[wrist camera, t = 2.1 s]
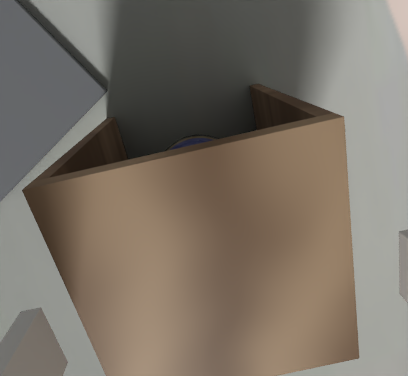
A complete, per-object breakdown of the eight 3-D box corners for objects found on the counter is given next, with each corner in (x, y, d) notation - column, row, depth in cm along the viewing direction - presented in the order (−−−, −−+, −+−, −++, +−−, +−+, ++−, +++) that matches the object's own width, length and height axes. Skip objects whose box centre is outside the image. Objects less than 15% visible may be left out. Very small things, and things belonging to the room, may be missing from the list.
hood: (148, 249, 27) (120, 408, 15) (106, 119, 24) (22, 190, 11) (278, 220, 27) (359, 358, 15) (258, 83, 23) (344, 116, 11)
